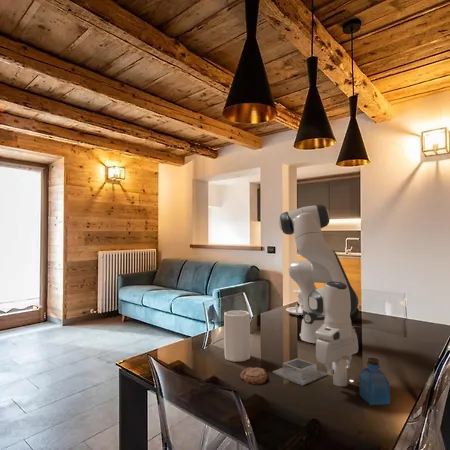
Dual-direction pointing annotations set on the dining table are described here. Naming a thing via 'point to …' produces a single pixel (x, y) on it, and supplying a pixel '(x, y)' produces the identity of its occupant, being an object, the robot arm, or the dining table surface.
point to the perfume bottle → (374, 384)
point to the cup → (237, 335)
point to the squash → (354, 315)
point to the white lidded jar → (340, 372)
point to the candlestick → (297, 309)
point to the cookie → (254, 375)
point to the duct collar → (299, 371)
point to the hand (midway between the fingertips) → (338, 371)
